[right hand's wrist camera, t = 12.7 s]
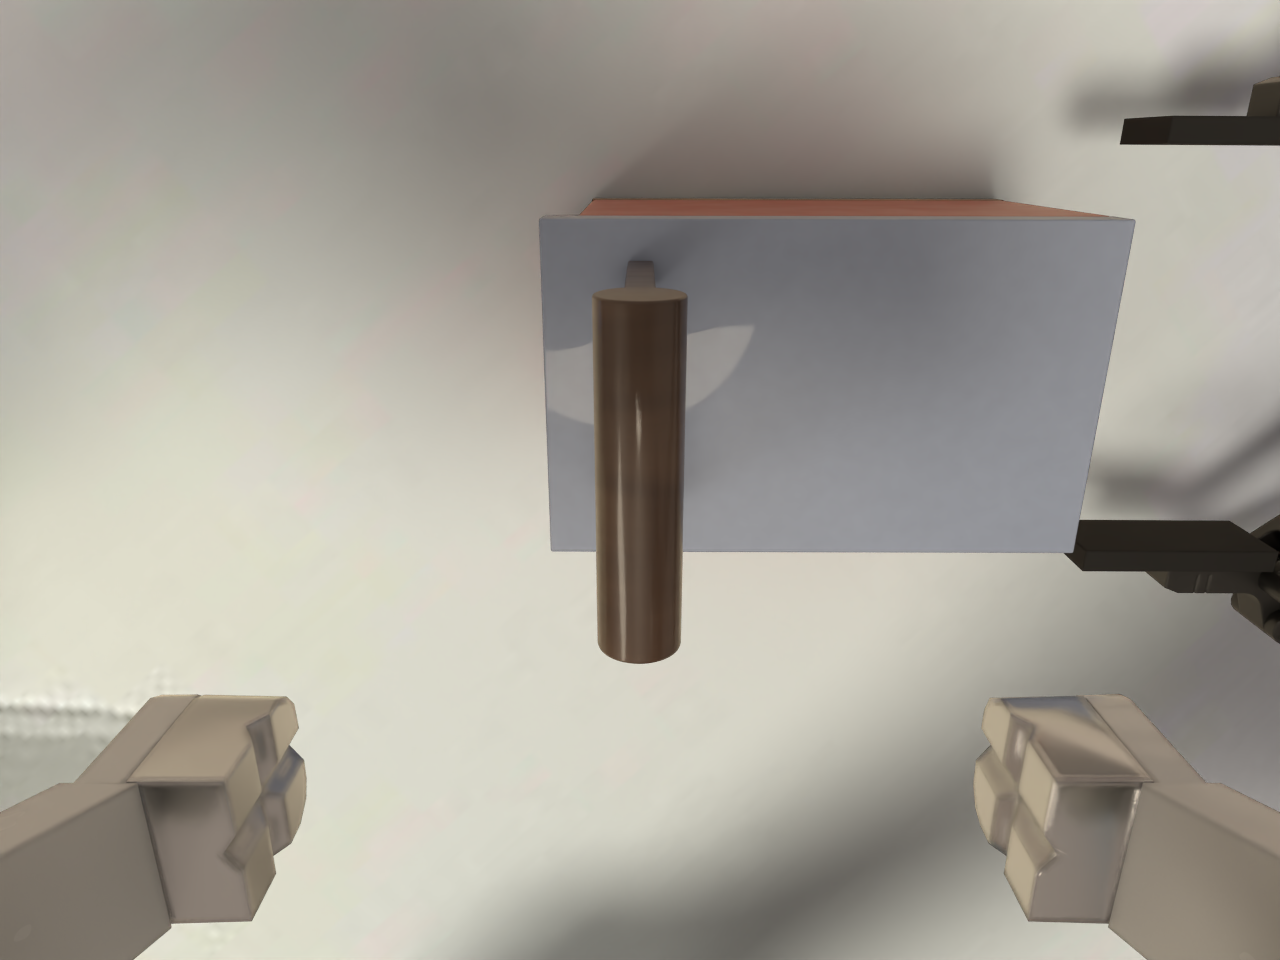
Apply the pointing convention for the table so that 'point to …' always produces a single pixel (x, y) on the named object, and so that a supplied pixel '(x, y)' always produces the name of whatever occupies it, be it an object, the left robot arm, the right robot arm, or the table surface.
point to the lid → (816, 390)
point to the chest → (818, 207)
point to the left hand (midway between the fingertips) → (1101, 354)
